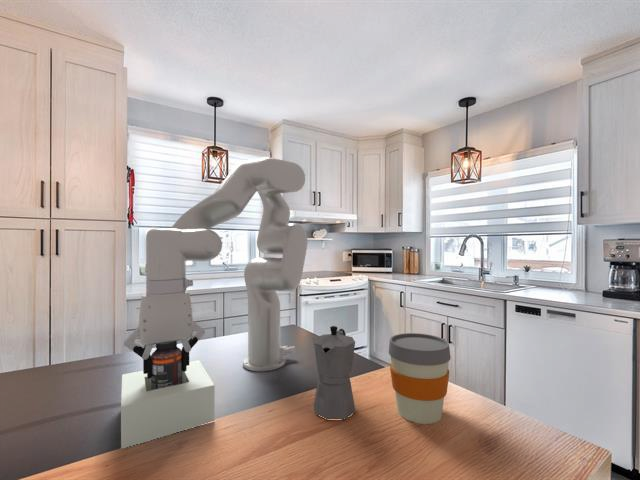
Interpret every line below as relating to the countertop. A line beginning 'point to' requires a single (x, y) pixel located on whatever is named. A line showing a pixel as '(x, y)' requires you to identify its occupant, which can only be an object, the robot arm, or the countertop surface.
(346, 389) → the coffeepot
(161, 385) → the supplement bottle
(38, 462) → the countertop surface
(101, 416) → the countertop surface
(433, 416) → the reusable coffee cup
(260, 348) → the robot arm
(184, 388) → the sage block
